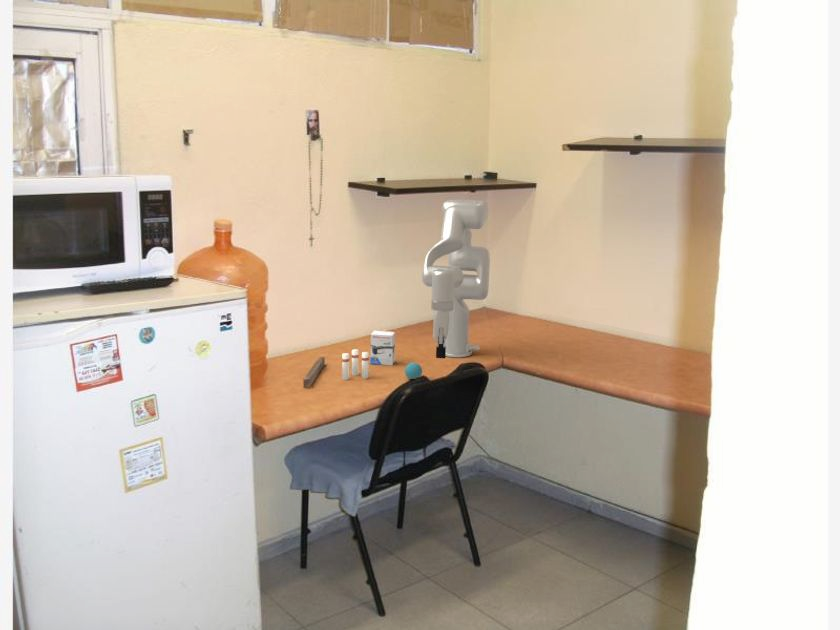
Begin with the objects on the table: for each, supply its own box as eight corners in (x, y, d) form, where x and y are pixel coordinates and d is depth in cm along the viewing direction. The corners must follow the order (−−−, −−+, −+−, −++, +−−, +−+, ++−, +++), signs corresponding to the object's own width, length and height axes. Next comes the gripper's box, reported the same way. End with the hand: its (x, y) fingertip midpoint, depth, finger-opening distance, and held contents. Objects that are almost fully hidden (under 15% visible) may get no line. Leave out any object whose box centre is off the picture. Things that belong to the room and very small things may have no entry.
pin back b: (349, 378, 280) (349, 353, 278) (348, 380, 278) (348, 355, 276) (342, 377, 281) (342, 353, 279) (341, 379, 278) (341, 354, 276)
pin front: (369, 376, 283) (369, 352, 281) (368, 378, 280) (368, 354, 278) (362, 376, 283) (362, 351, 281) (361, 378, 280) (361, 353, 278)
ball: (422, 377, 283) (422, 360, 282) (421, 382, 277) (421, 365, 276) (405, 376, 283) (405, 360, 282) (404, 381, 278) (404, 365, 276)
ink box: (370, 364, 298) (370, 333, 295) (372, 360, 303) (372, 330, 300) (392, 365, 297) (392, 334, 294) (394, 362, 301) (395, 331, 299)
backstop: (324, 364, 296) (324, 356, 295) (309, 387, 269) (309, 379, 268) (319, 364, 296) (319, 356, 295) (303, 387, 269) (303, 379, 268)
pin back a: (359, 373, 286) (359, 349, 284) (358, 375, 283) (358, 351, 281) (352, 373, 286) (352, 349, 284) (351, 375, 283) (351, 351, 281)
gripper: (432, 301, 281) (431, 352, 285) (430, 309, 267) (428, 362, 270) (453, 302, 281) (452, 353, 284) (452, 310, 266) (451, 363, 270)
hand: (440, 357), depth 277 cm, fingers closed
